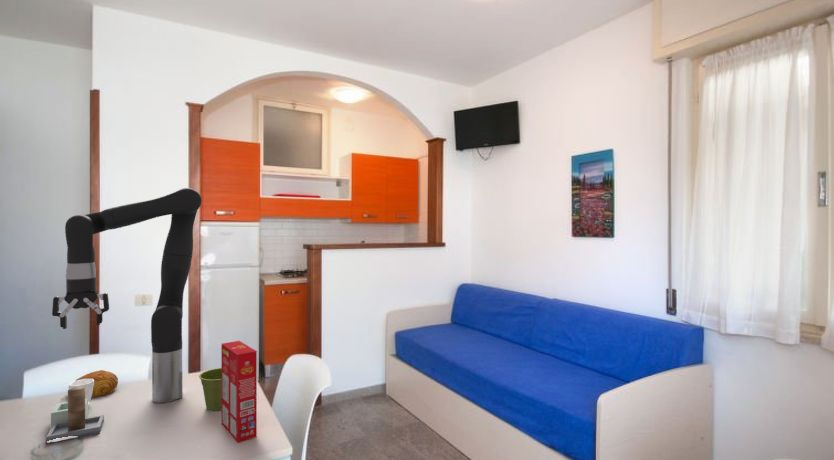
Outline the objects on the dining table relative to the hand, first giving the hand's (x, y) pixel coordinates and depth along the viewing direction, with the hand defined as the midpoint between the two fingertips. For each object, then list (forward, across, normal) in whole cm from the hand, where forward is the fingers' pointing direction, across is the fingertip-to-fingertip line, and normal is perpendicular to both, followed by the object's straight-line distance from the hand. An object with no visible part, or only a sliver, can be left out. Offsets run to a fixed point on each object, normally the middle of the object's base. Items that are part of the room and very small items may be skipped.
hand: (81, 326), depth 135 cm
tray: (+28, 0, +14) cm, 32 cm away
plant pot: (+29, -38, +16) cm, 51 cm away
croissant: (+29, -1, -22) cm, 36 cm away
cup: (+29, +2, -9) cm, 30 cm away
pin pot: (+28, +2, +5) cm, 29 cm away
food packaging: (+29, -41, +38) cm, 63 cm away
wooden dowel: (+28, 0, +14) cm, 31 cm away
